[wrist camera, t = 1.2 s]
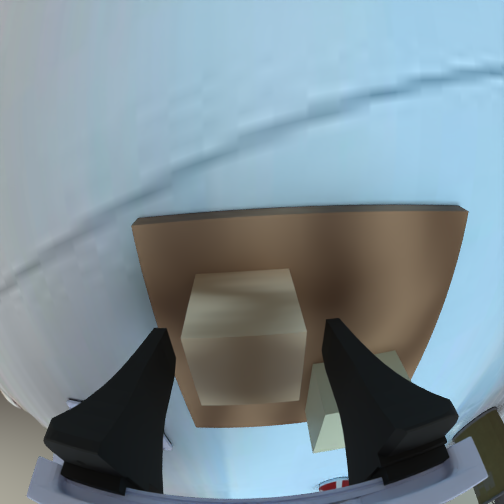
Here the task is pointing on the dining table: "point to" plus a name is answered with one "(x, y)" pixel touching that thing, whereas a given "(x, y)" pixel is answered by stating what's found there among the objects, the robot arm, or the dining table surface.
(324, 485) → the soda can
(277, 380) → the birch block
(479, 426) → the canister
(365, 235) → the walnut board
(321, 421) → the sage base block
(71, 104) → the dining table surface
